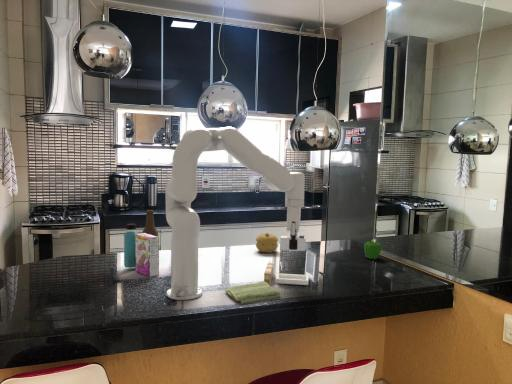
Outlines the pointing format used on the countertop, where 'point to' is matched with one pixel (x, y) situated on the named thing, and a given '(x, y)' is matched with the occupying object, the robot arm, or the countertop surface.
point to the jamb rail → (268, 273)
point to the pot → (266, 243)
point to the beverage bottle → (130, 247)
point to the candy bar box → (147, 254)
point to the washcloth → (253, 292)
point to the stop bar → (300, 243)
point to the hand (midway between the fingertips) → (293, 247)
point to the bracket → (292, 279)
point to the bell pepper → (372, 250)
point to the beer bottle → (150, 224)
